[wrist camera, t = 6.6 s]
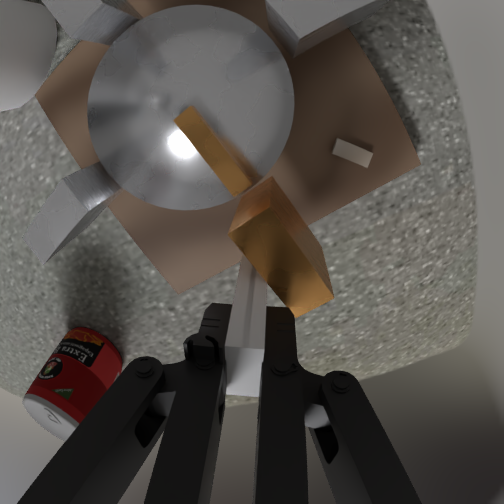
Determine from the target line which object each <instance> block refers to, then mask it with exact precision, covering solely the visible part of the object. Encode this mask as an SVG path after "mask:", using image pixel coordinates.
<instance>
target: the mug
mask: <svg viewBox="0 0 504 504" xmlns="http://www.w3.org/2000/svg"><path fill="white" fill-rule="evenodd" d="M56 40H57V28H56V21H55V17H54V16H53V15H52V14H51V12H50V11H49V10H48V8H47V7H45V6H44V5H42V4H39V3H34V2H29V1H24V0H0V112H1V111H6V110H11V109H14V108H18V107H21V106H22V105H23V104H25V103H26V102H27V101H29V100H30V99H31V98H32V97H33V96H34V94H35V93H36V92H37V91H38V89H39V88H40V87H41V85H42V83H43V81H44V79H45V77H46V75H47V74H48V72H49V70H50V67H51V63H52V60H53V57H54V54H55V50H56Z"/></svg>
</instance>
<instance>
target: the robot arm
mask: <svg viewBox="0 0 504 504" xmlns="http://www.w3.org/2000/svg"><path fill="white" fill-rule="evenodd" d="M266 300H267V282H266V281H265V280H264V279H263V277H262V276H261V275H260V274H259V273H258V271H257V270H256V269H255V268H254V266H253V265H252V264H251V263H250V262H249V260H248V259H247V258H246V257H245V255H244V254H242V259H241V264H240V269H239V274H238V280H237V285H236V290H235V295H234V300H233V305H232V304H220V303H212V304H211V305H210V306H209V307H208V308H207V309H206V310H205V312H204V316H203V320H202V322H201V326H200V329H199V333H197V334H193V335H191V336H189V337H188V338H187V339H186V340H185V341H184V343H183V346H184V352H185V360H183V361H181V362H178V363H174V364H165V365H162V364H161V362H160V361H159V360H157V359H156V358H154V357H149V356H145V357H139V358H136V359H134V360H133V361H132V362H130V363H129V364H128V366H127V367H126V368H125V369H124V370H123V372H122V373H121V374H120V375H119V376H118V378H117V379H116V380H115V381H114V382H113V384H112V385H111V386H110V387H109V389H108V390H107V391H106V392H105V393H104V395H103V396H102V397H101V398H100V399H99V401H98V402H97V403H96V404H95V406H94V407H93V408H92V409H91V410H90V412H89V413H88V414H87V415H86V417H85V418H84V419H83V420H82V422H81V423H80V424H79V425H78V426H77V428H76V429H75V430H74V431H73V433H72V434H71V435H70V436H69V438H68V439H67V440H66V441H65V443H64V444H63V445H62V446H61V448H60V449H59V450H58V451H57V453H56V454H55V455H54V456H53V458H52V459H51V460H50V462H49V463H48V464H47V465H46V467H45V468H44V469H43V471H42V472H41V473H40V474H39V476H38V477H37V478H36V479H35V481H34V482H33V483H32V485H31V486H30V487H29V489H28V490H27V491H26V493H25V494H24V495H23V496H22V498H21V499H20V500H19V502H18V503H17V504H117V503H118V502H119V500H120V499H121V497H122V496H123V494H124V493H125V491H126V489H127V488H128V486H129V485H130V483H131V482H132V480H133V479H134V477H135V475H136V474H137V472H138V471H139V469H140V468H141V466H142V465H143V463H144V461H145V460H146V458H147V457H148V455H149V453H150V452H151V450H152V449H153V447H154V446H155V444H156V442H157V441H158V439H159V438H160V436H161V434H162V433H163V431H164V433H163V437H162V440H161V444H160V447H159V451H158V454H157V458H156V461H155V465H154V468H153V472H152V476H151V479H150V483H149V486H148V490H147V494H146V498H145V501H144V504H209V503H210V497H211V491H212V485H213V479H214V472H215V466H216V460H217V454H218V447H219V441H220V435H221V429H222V422H223V417H224V410H225V395H226V394H230V395H240V396H253V397H259V408H258V417H257V419H258V424H257V441H256V456H255V472H254V487H253V502H252V504H308V480H307V454H306V436H305V435H306V434H305V426H308V428H309V431H310V433H311V436H312V439H313V441H314V444H315V447H316V450H317V452H318V455H319V458H320V461H321V463H322V466H323V469H324V471H325V474H326V477H327V479H328V482H329V485H330V488H331V490H332V493H333V496H334V498H335V500H336V503H337V504H422V503H421V501H420V499H419V497H418V495H417V493H416V491H415V489H414V487H413V485H412V483H411V481H410V479H409V477H408V475H407V473H406V471H405V469H404V467H403V466H402V463H401V461H400V459H399V457H398V455H397V454H396V452H395V450H394V448H393V446H392V444H391V442H390V440H389V438H388V436H387V435H386V432H385V430H384V429H383V427H382V425H381V423H380V421H379V419H378V418H377V416H376V414H375V412H374V410H373V408H372V406H371V404H370V403H369V400H368V399H367V397H366V395H365V393H364V391H363V389H362V388H361V386H360V384H359V382H358V380H357V379H356V378H355V377H354V376H353V375H351V374H350V373H348V372H345V371H332V372H330V373H327V374H326V375H325V376H320V375H317V374H313V373H311V372H308V371H307V370H305V369H304V368H303V367H302V366H301V365H300V364H299V362H298V358H297V346H296V333H295V318H294V314H293V313H292V311H291V310H290V308H289V307H271V306H266Z"/></svg>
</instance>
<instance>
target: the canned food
mask: <svg viewBox="0 0 504 504" xmlns="http://www.w3.org/2000/svg"><path fill="white" fill-rule="evenodd" d="M121 371H122V359H121V356H120V354H119V352H118V351H117V349H116V348H115V347H114V345H113V344H112V343H111V342H110V341H109V340H108V339H106V338H105V337H104V336H102V335H101V334H99V333H98V332H96V331H94V330H91V329H88V328H84V327H77V328H74V329H72V330H71V331H69V332H68V333H67V334H66V335H65V337H64V338H63V339H62V341H61V342H60V343H59V345H58V346H57V348H56V349H55V350H54V352H53V353H52V355H51V356H50V358H49V359H48V361H47V362H46V363H45V365H44V366H43V368H42V369H41V371H40V372H39V374H38V375H37V377H36V378H35V380H34V381H33V383H32V384H31V386H30V388H29V389H28V391H27V393H26V394H25V396H24V399H23V405H24V407H25V409H26V410H27V412H28V413H29V414H30V416H31V417H32V418H33V419H34V420H35V421H36V422H37V423H38V424H40V425H41V426H42V427H43V428H44V429H46V430H47V431H48V432H50V433H51V434H53V435H54V436H56V437H58V438H60V439H61V440H63V441H66V440H67V439H68V438H69V436H70V435H71V434H72V433H73V431H74V430H75V429H76V428H77V426H78V425H79V424H80V423H81V422H82V420H83V419H84V418H85V417H86V415H87V414H88V413H89V412H90V410H91V409H92V408H93V407H94V406H95V404H96V403H97V402H98V401H99V399H100V398H101V397H102V396H103V395H104V393H105V392H106V391H107V390H108V389H109V387H110V386H111V385H112V384H113V382H114V381H115V380H116V379H117V378H118V376H119V375H120V374H121Z"/></svg>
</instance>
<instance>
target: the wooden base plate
mask: <svg viewBox="0 0 504 504" xmlns="http://www.w3.org/2000/svg"><path fill="white" fill-rule="evenodd" d="M127 1H128V2H129V3H130V4H131V5H132V6H133V7H134V8H135V9H136V10H137V11H138V12H139V14H140V15H141V16H142V17H143V18H145V17H147V16H149V15H151V14H153V13H156V12H159V11H161V10H164V9H168V8H172V7H177V6H183V5H208V6H214V7H219V8H223V9H226V10H229V11H232V12H235V13H237V14H239V15H241V16H243V17H245V18H247V19H248V20H250V21H252V22H253V23H254V24H256V25H257V26H258V27H260V28H261V29H262V30H263V31H264V32H265V33H266V34H267V35H268V36H269V37H270V38H271V39H272V40H273V42H274V43H275V44H276V46H277V47H278V49H279V50H280V52H281V54H282V55H283V57H284V59H285V61H286V63H287V66H288V69H289V72H290V75H291V78H292V84H293V89H294V115H293V122H292V126H291V130H290V134H289V137H288V139H287V142H286V144H285V147H284V149H283V151H282V152H281V154H280V156H279V158H278V159H277V161H276V163H275V164H274V165H273V166H272V168H271V169H270V170H269V172H268V173H267V174H266V175H265V176H264V177H263V178H262V179H261V180H260V181H259V182H258V183H257V184H256V185H254V186H253V187H252V188H250V189H249V190H248V191H247V192H249V191H250V190H252V189H253V188H255V187H256V186H258V185H259V184H261V183H262V182H264V181H265V180H267V179H268V178H270V177H271V176H273V178H274V179H275V181H276V182H277V183H278V185H279V186H280V188H281V189H282V190H283V192H284V193H285V195H286V196H287V197H288V199H289V200H290V202H291V203H292V204H293V206H294V207H295V209H296V210H297V212H298V213H299V214H300V216H301V217H302V219H303V220H304V222H305V223H306V225H307V226H308V225H309V224H311V223H313V222H315V221H317V220H319V219H321V218H323V217H324V216H326V215H328V214H330V213H332V212H334V211H336V210H337V209H339V208H341V207H343V206H345V205H347V204H349V203H350V202H352V201H354V200H356V199H358V198H360V197H362V196H363V195H365V194H367V193H369V192H371V191H373V190H375V189H376V188H378V187H380V186H382V185H384V184H386V183H388V182H389V181H391V180H393V179H395V178H397V177H399V176H401V175H402V174H404V173H406V172H408V171H410V170H412V169H414V168H415V167H417V166H419V165H421V163H420V160H419V158H418V155H417V153H416V151H415V148H414V146H413V144H412V141H411V139H410V137H409V135H408V132H407V130H406V128H405V126H404V124H403V122H402V120H401V118H400V116H399V113H398V111H397V109H396V107H395V106H394V104H393V102H392V100H391V98H390V96H389V94H388V92H387V90H386V88H385V87H384V85H383V83H382V81H381V79H380V78H379V76H378V74H377V72H376V71H375V69H374V67H373V66H372V64H371V62H370V61H369V59H368V57H367V56H366V54H365V53H364V51H363V49H362V48H361V46H360V45H359V43H358V42H357V40H356V39H355V37H354V36H353V34H352V33H351V31H350V30H349V28H347V29H345V30H343V31H341V32H339V33H337V34H335V35H333V36H331V37H330V38H328V39H326V40H324V41H322V42H320V43H319V44H317V45H315V46H313V47H312V48H310V49H308V50H306V51H305V52H303V53H301V54H300V55H298V56H296V57H295V58H292V57H291V56H290V54H289V53H288V52H287V51H286V49H285V48H284V47H283V46H282V45H281V43H280V42H279V41H278V40H277V39H276V37H275V36H274V35H273V34H272V33H271V31H270V30H269V27H268V19H267V12H266V5H265V0H127ZM109 47H110V46H109V45H105V44H100V43H95V42H90V41H85V40H81V41H80V42H79V43H78V44H77V45H76V46H75V47H74V49H73V50H72V51H71V52H70V53H69V54H68V55H67V56H66V57H65V58H64V60H63V61H62V62H61V63H60V64H59V65H58V66H57V68H56V69H55V70H54V71H53V72H52V74H51V75H50V76H49V77H48V78H47V80H46V81H45V82H44V83H43V85H42V86H41V87H40V89H39V90H38V91H37V93H36V94H35V97H36V98H37V100H38V102H39V103H40V105H41V107H42V108H43V110H44V112H45V113H46V115H47V117H48V118H49V120H50V122H51V123H52V125H53V126H54V128H55V130H56V131H57V133H58V134H59V136H60V137H61V139H62V141H63V142H64V144H65V145H66V147H67V148H68V150H69V151H70V153H71V154H72V156H73V157H74V159H75V160H76V162H77V163H78V165H79V166H80V168H81V169H84V168H86V167H88V166H90V165H92V164H95V163H97V162H99V161H100V160H99V158H98V156H97V154H96V152H95V149H94V147H93V144H92V141H91V137H90V133H89V129H88V120H87V103H88V96H89V90H90V86H91V82H92V79H93V76H94V74H95V71H96V69H97V67H98V65H99V63H100V61H101V59H102V58H103V56H104V54H105V53H106V52H107V50H108V49H109ZM247 192H245V193H243V194H242V195H240V196H238V197H236V198H235V199H233V200H230V201H228V202H226V203H223V204H220V205H217V206H214V207H210V208H205V209H199V210H174V209H167V208H163V207H158V206H155V205H153V204H150V203H147V202H145V201H143V200H141V199H139V198H137V197H135V196H134V195H132V194H131V193H129V192H128V191H126V190H125V189H124V190H123V191H122V192H121V193H120V194H119V195H118V196H117V197H116V198H115V199H114V200H113V201H112V202H111V203H110V204H109V205H108V207H109V208H110V210H111V211H112V212H113V214H114V215H115V216H116V218H117V219H118V220H119V222H120V223H121V224H122V226H123V227H124V228H125V230H126V231H127V232H128V233H129V235H130V236H131V237H132V239H133V240H134V241H135V242H136V244H137V245H138V246H139V248H140V249H141V250H142V251H143V253H144V254H145V255H146V256H147V258H148V259H149V260H150V261H151V262H152V264H153V265H154V266H155V267H156V269H157V270H158V271H159V272H160V273H161V275H162V276H163V277H164V278H165V279H166V281H167V282H168V283H169V284H170V285H171V287H172V288H173V289H174V290H175V291H176V292H177V294H180V293H182V292H184V291H186V290H188V289H190V288H192V287H193V286H195V285H197V284H199V283H201V282H203V281H205V280H207V279H208V278H210V277H212V276H214V275H216V274H218V273H220V272H222V271H223V270H225V269H227V268H229V267H231V266H233V265H235V264H237V263H238V262H240V261H241V259H242V254H243V253H242V252H241V251H240V249H239V248H238V247H237V246H236V244H235V243H234V242H233V241H232V239H231V238H230V237H229V236H228V235H227V234H228V232H229V229H230V226H231V224H232V221H233V218H234V215H235V213H236V210H237V207H238V205H239V202H240V199H241V197H242V196H243V195H244V194H246V193H247Z"/></svg>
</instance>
